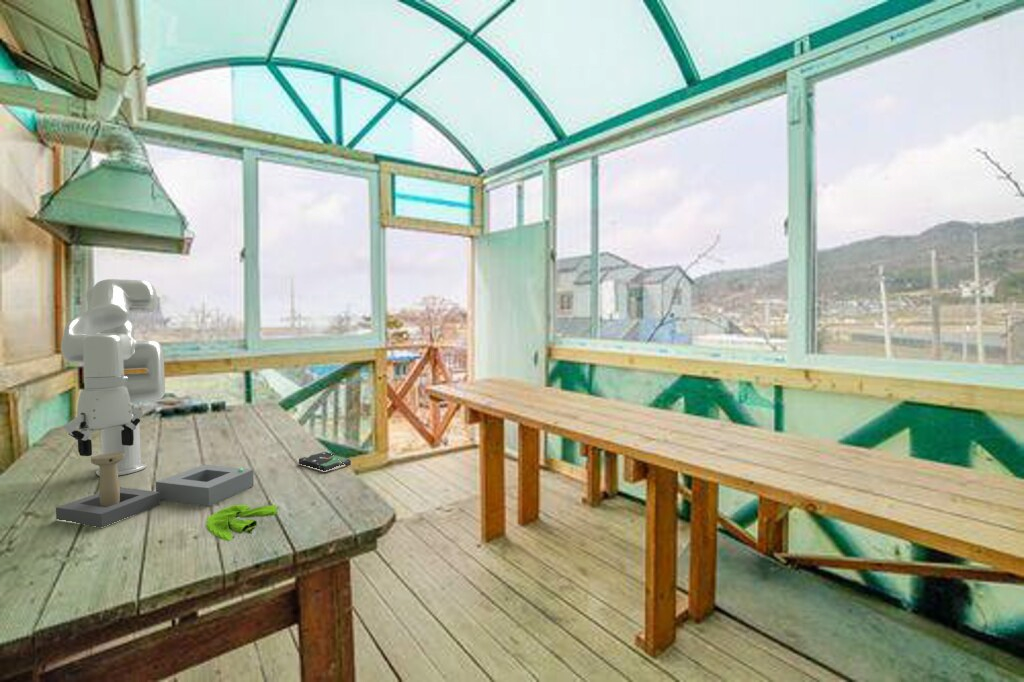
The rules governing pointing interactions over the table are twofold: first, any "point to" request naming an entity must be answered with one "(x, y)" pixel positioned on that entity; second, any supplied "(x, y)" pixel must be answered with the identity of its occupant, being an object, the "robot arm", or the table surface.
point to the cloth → (225, 520)
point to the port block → (205, 485)
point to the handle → (108, 477)
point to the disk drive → (324, 461)
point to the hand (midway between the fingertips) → (107, 450)
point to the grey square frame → (98, 516)
